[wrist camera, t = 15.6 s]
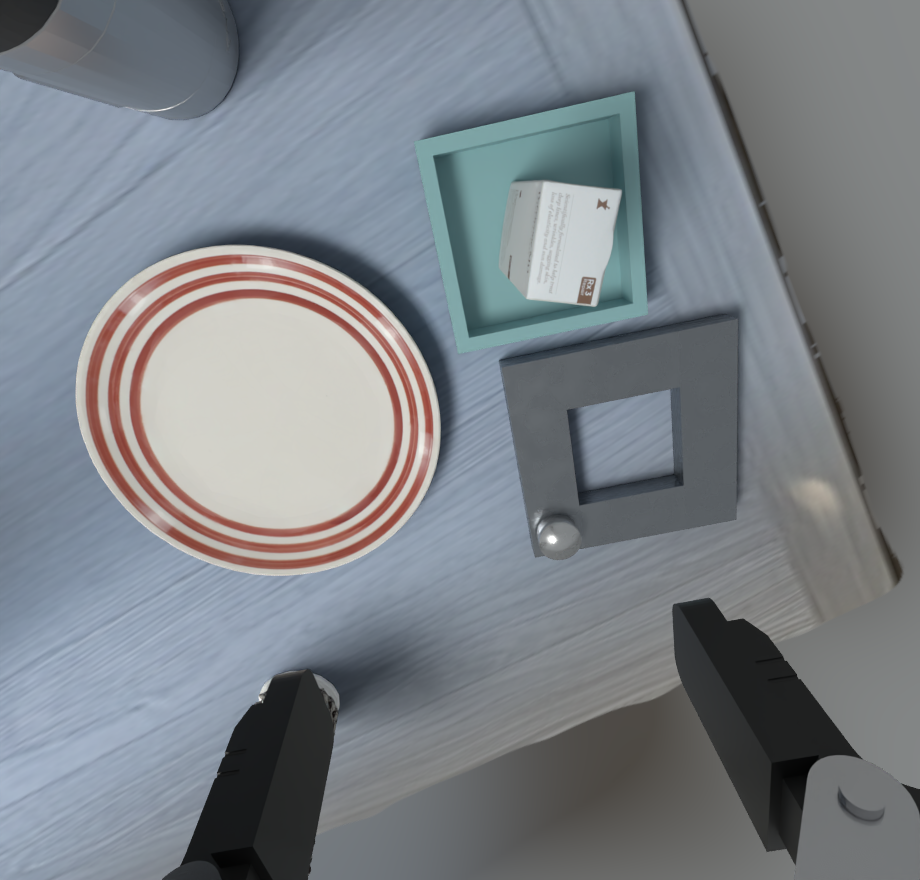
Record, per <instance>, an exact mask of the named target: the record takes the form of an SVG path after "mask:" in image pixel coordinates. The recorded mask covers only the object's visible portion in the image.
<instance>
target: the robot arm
mask: <svg viewBox="0 0 920 880" xmlns="http://www.w3.org/2000/svg"><path fill="white" fill-rule="evenodd" d="M238 59H239V43H238V33H237V29H236V24H235V19H234V16H233V14H232V11H231V9H230V6H229V4H228V1H227V0H0V70H4V71H8V72H12V73H13V74H14V75H15V76H17V77H18V78H20V79H23V80H26V81H30V82H33V83H36V84H40V85H43V86H47V87H50V88H54V89H57V90H61V91H64V92H67V93H71V94H74V95H78V96H81V97H85V98H88V99H91V100H95V101H98V102H102V103H105V104H109V105H112V106H115V107H127V108H130V109H134V110H137V111H141V112H144V113H147V114H151V115H154V116H158V117H162V118H166V119H170V120H187V119H192V118H196V117H200V116H202V115H204V114H205V113H207V112H209V111H211V110H213V109H214V108H215V107H216V106H217V105H218V104H219V103H220V102H221V101H222V100H223V99H224V97H225V96H226V94H227V93H228V91H229V90H230V88H231V86H232V83H233V80H234V78H235V75H236V72H237V65H238ZM672 613H673V632H674V651H675V660H676V665H677V669H678V673H679V676H680V678H681V681H682V684H683V686H684V688H685V690H686V692H687V694H688V696H689V698H690V700H691V702H692V704H693V706H694V708H695V710H696V712H697V713H698V716H699V717H700V720H701V722H702V724H703V726H704V728H705V729H706V731H707V734H708V735H709V738H710V740H711V742H712V743H713V746H714V748H715V750H716V751H717V754H718V755H719V757H720V759H721V761H722V763H723V765H724V767H725V769H726V771H727V773H728V775H729V777H730V779H731V781H732V783H733V785H734V787H735V789H736V791H737V793H738V795H739V797H740V799H741V801H742V803H743V805H744V807H745V809H746V811H747V813H748V815H749V817H750V819H751V821H752V823H753V825H754V827H755V829H756V831H757V833H758V835H759V837H760V839H761V841H762V843H763V845H764V847H765V849H766V851H767V852H769V851H775V850H781V849H787V851H788V852H789V854H790V856H791V858H792V860H793V862H794V863H795V866H796V867H795V875H794V880H920V789H916V788H913V787H910V786H907V785H904V784H902V783H900V782H899V781H898V780H896V779H895V778H894V777H893V776H892V775H891V774H889V773H888V772H886V771H885V770H883V769H882V768H880V767H878V766H876V765H874V764H873V763H870V762H868V761H865V760H863V759H862V758H861V757H860V756H859V755H858V754H857V753H856V752H855V750H854V749H853V748H852V747H851V746H850V744H849V743H848V741H847V740H846V739H845V738H844V736H843V735H842V733H841V732H840V731H839V730H838V728H837V727H836V726H835V724H834V723H833V722H832V720H831V719H830V718H829V716H828V715H827V714H826V712H825V711H824V710H823V708H822V707H821V706H820V704H819V703H818V702H817V700H816V699H815V698H814V697H813V695H812V694H811V692H810V691H809V690H808V689H807V687H806V686H805V685H804V683H803V682H802V681H801V679H798V677H797V674H796V673H795V671H794V670H793V669H792V667H791V666H790V665H789V664H788V662H787V661H785V660H784V658H783V656H782V654H781V653H780V651H779V650H778V649H777V647H776V646H775V645H774V643H773V642H772V641H771V640H770V638H769V637H768V636H767V635H766V634H765V633H763V632H762V631H760V630H759V629H758V628H756V627H755V626H753V625H752V624H750V623H749V622H747V621H746V620H745V619H738V620H732V621H727V620H726V619H725V617H724V616H723V614H722V613H721V611H720V610H719V609H718V607H717V606H716V604H715V603H714V602H713V600H712V599H710V598H705V599H699V600H694V601H688V602H683V603H677V604H674V605H673V609H672ZM333 742H334V729H333V722H332V717H331V714H330V712H329V710H328V707H327V705H326V703H325V700H324V698H323V696H322V693H321V691H320V689H319V686H318V684H317V682H316V679H315V677H314V675H313V673H312V671H311V670H309V669H307V670H301V671H296V672H290V673H285V674H279V675H275V676H274V677H273V678H272V680H271V682H270V684H269V687H268V690H267V693H266V696H265V699H264V701H263V703H261V704H255V705H252V706H251V707H250V708H249V710H248V711H247V712H246V714H245V715H244V716H243V718H242V719H241V720H240V721H239V723H238V724H237V725H236V727H235V728H234V731H233V733H232V736H231V738H230V741H229V744H228V746H227V749H226V751H225V757H223V759H222V762H221V764H220V767H219V769H218V772H217V778H215V780H214V782H213V785H212V787H211V790H210V793H209V795H208V798H207V800H206V803H205V805H204V808H203V811H202V813H201V816H200V818H199V821H198V823H197V826H196V829H195V831H194V834H193V836H192V839H191V842H190V844H189V847H188V849H187V852H186V854H185V857H184V859H183V861H182V863H181V865H180V867H178V868H176V869H174V870H173V871H172V872H170V873H169V874H168V875H166V876H165V877H164V878H163V879H162V880H307V878H308V873H309V868H310V862H311V857H312V852H313V847H314V842H315V837H316V832H317V826H318V821H319V816H320V811H321V806H322V801H323V795H324V790H325V785H326V780H327V775H328V770H329V765H330V759H331V754H332V749H333Z"/></svg>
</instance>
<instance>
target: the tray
mask: <svg viewBox="0 0 920 880" xmlns="http://www.w3.org/2000/svg"><path fill="white" fill-rule="evenodd" d="M414 144H415V149H416V154H417V159H418V163H419V168H420V173H421V178H422V183H423V187H424V192H425V197H426V202H427V207H428V211H429V216H430V221H431V226H432V230H433V235H434V240H435V245H436V250H437V254H438V259H439V264H440V269H441V274H442V278H443V283H444V288H445V293H446V298H447V302H448V307H449V312H450V317H451V321H452V326H453V331H454V336H455V341H456V345H457V350H458V354H461V353H465V352H470V351H475V350H480V349H485V348H489V347H494V346H499V345H504V344H509V343H514V342H518V341H523V340H528V339H533V338H538V337H542V336H547V335H552V334H557V333H562V332H566V331H571V330H576V329H581V328H586V327H590V326H595V325H600V324H605V323H610V322H615V321H619V320H624V319H629V318H634V317H639V316H643V315H648V307H647V290H646V273H645V256H644V240H643V223H642V206H641V189H640V173H639V156H638V139H637V122H636V106H635V91H633V92H629V93H625V94H620V95H616V96H612V97H607V98H603V99H598V100H594V101H590V102H585V103H581V104H577V105H572V106H568V107H563V108H559V109H555V110H550V111H546V112H542V113H537V114H533V115H528V116H524V117H520V118H515V119H511V120H506V121H502V122H498V123H493V124H489V125H485V126H480V127H476V128H471V129H467V130H463V131H458V132H454V133H450V134H445V135H441V136H436V137H432V138H428V139H423V140H419V141H415V142H414ZM533 180H551V181H557V182H563V183H569V184H577V185H585V186H595V187H604V188H613V189H621V190H622V196H621V200H620V205H619V210H618V215H617V220H616V224H615V229H614V234H613V236H614V237H613V247H612V251H611V255H610V259H609V261H608V264H607V266H606V270H605V274H604V279H603V283H602V288H601V292H600V297H599V302H598V305H597V306H595V307H592V306H584V305H575V304H567V303H558V302H548V301H538V300H529V299H526V298H525V297H524V296H523V295H522V293H521V292H520V291H519V290H518V289H517V288H516V287H515V286H514V284H513V283H512V282H511V281H510V280H509V279H508V278H507V277H506V276H505V274H504V273H503V272H502V271H501V270H500V269H499V254H500V245H501V237H502V229H503V222H504V215H505V209H506V204H507V199H508V194H509V189H510V185H511V183H512V182H513V181H533Z"/></svg>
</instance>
